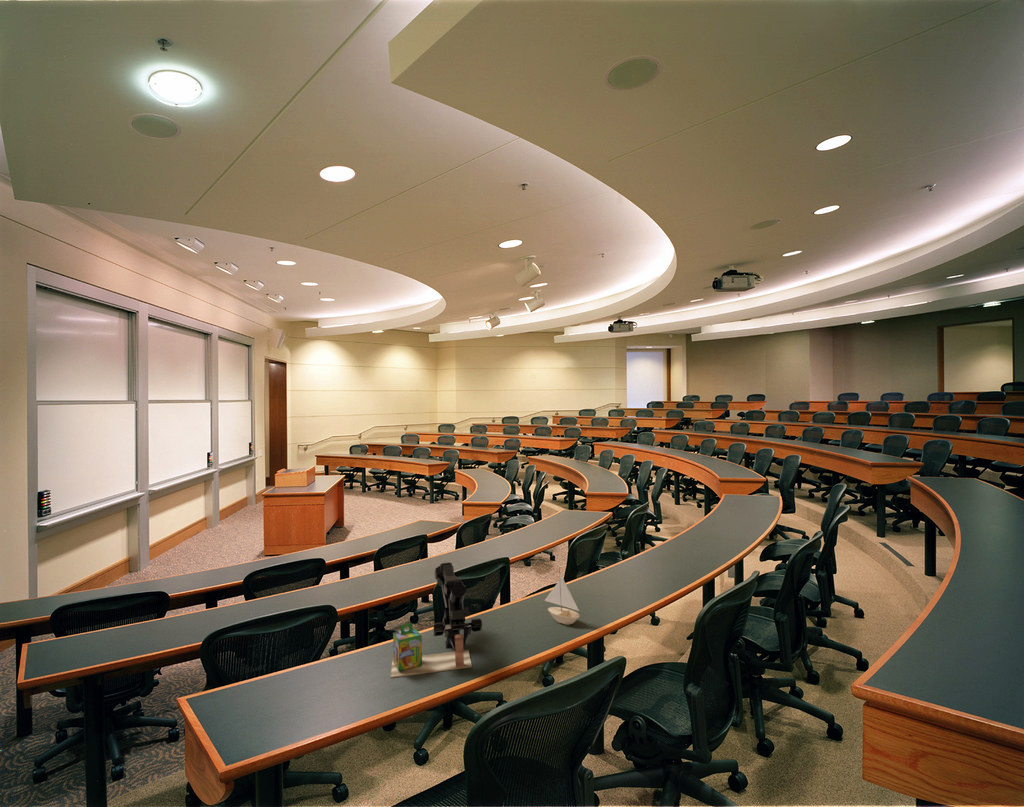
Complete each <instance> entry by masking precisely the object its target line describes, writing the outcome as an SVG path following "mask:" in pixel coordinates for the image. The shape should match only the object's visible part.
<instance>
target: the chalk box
mask: <svg viewBox="0 0 1024 807" xmlns="http://www.w3.org/2000/svg"><path fill="white" fill-rule="evenodd" d="M405 628H408V629H405ZM392 640H393V641H392V642H393V643H392V644H393V645H392V647H393V659H394V664H395V666H396V667H397V669H398V670H399V671H403V670H407V669H411V668H415V667H419V666H422V654H423V653H422V652H423V643H422V642H423V641H422V640H423V638H422V635H421V633H420V632H419V631H418V630H417V628H415V627H413V622H410V623H409V622H408V623H404V624H402V625H400V630H399V631H395V632H392Z"/></svg>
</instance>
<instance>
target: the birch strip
mask: <svg viewBox="0 0 1024 807" xmlns="http://www.w3.org/2000/svg"><path fill="white" fill-rule="evenodd" d="M455 649H456V650H455V651H449V652H448V651H446V652H440V653H439V652H438V653H431V654H424V655H422V666H419V667H415V668H411V669H407V670H403V671H399V670H398V669H397V667H396V666H395V664H394V658H392V661H391V670H390V671H391V672H390V679H394V678H400V677H401V678H402V677H409V676H414V675H423V674H431V673H439V672H445V671H447V672H448V671H454V670H460V669H461V670H462V669H469V668H471V669H472V668H473V665H472V660H471V656H470V651H469V649H464V650H463V633H460V634H458V635H455Z"/></svg>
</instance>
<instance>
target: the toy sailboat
mask: <svg viewBox="0 0 1024 807" xmlns="http://www.w3.org/2000/svg"><path fill="white" fill-rule="evenodd" d="M558 570H559V571H558V572H559V580H558V581H557V583H556V584H555V586H554V587H553V588H552V589H551V591H550V592H549V594H548V595H547V596H546V598H545V599H544V601H545V602H548V603H551V604H555V605H558V606H559V607H558V606H551V607H548V608H547V611H548V613H549V615H551V616H552V618H553V619H554V620H555V621H556V622H557V623H559V624H561V623H562V624H563V625H567V626H570V624H571V625H572V624H574V623H575V622H577V621H578V619H579V618H580V614H579V612H580V609H579V607H578V605H577V604H576V602H575V600H574V597H573V595H572V593H571V591H570V589H569V587H568V585H567V584H566V582H565V579H564V578H563V575H562V574H561V566H559V568H558ZM562 624H561V625H562Z"/></svg>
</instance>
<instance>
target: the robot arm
mask: <svg viewBox="0 0 1024 807" xmlns="http://www.w3.org/2000/svg"><path fill="white" fill-rule="evenodd" d="M434 579H435V580H436V584H437V585H438V586H440V587H441V590H442V595H443V601H444V607H445V609H444V615H443V618H442V622H435V623H434V624H433V637H441V636H443V635H444V637H445V638H446V640H444V641H445V648H446V649H450V648H452V649H453V652H455V650H456V649H455V635H458V634H461V631H463V633H462V635H463V650H466V649H465V648H466V643H467V639H468V638H469V635H472V632H474V633H475V632H481V631H482V628H483V622H482V618H479V617H478V618H472V619H471V620H470V622H466V617H470V610H469V606H465V607H464V600H465V595H466V592H467V588H466V587H467V586H466V585H465V584H464V583H463V581H462V579H461V578H460V577H459V576H456V575H455V569H454V565H453V564H452V562H443V563H442V562H441V563H440V564H439V566H436V567H435V569H434Z"/></svg>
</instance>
